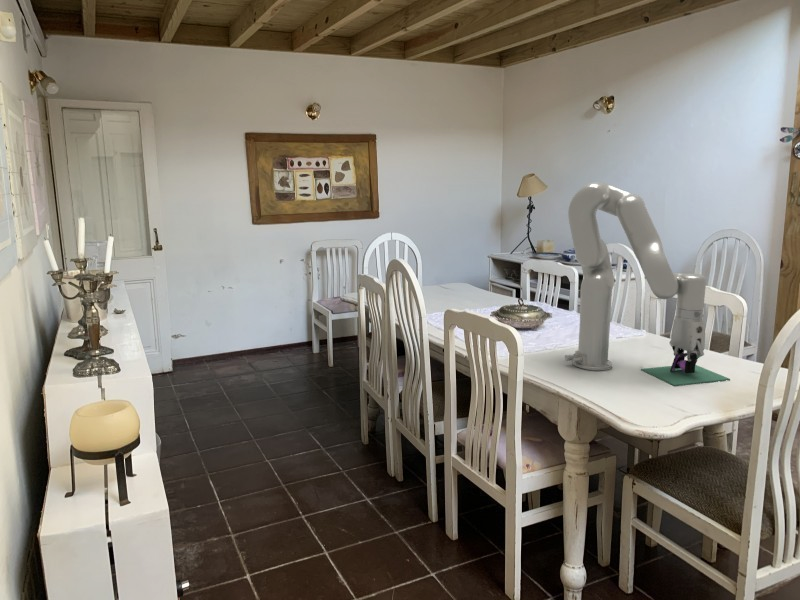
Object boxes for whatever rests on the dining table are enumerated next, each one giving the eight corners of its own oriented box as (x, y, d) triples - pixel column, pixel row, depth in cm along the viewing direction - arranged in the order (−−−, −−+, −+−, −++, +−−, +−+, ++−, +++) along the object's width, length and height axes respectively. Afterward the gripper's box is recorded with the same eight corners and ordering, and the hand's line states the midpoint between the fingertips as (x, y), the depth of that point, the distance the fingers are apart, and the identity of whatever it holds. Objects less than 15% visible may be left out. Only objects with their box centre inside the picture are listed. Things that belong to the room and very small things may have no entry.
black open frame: (697, 350, 191) (674, 352, 188) (709, 359, 186) (685, 361, 184) (691, 367, 194) (668, 370, 191) (702, 377, 189) (678, 379, 187)
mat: (674, 386, 179) (674, 384, 179) (640, 370, 195) (640, 368, 194) (730, 380, 184) (730, 378, 184) (692, 365, 199) (693, 363, 199)
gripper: (720, 319, 178) (713, 377, 182) (680, 307, 194) (676, 361, 198) (698, 320, 177) (693, 379, 180) (660, 308, 193) (656, 363, 196)
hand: (684, 369), depth 189 cm, fingers closed on black open frame, 4 cm apart
